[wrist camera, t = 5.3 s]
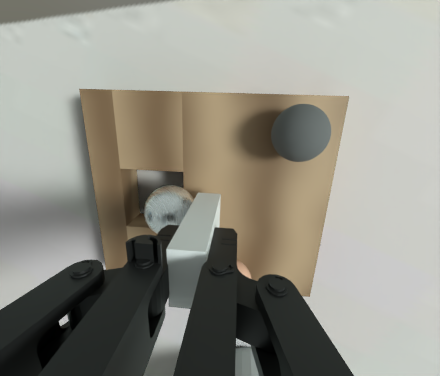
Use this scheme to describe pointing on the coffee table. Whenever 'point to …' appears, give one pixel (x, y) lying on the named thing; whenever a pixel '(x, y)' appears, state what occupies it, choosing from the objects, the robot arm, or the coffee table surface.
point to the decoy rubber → (301, 132)
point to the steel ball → (166, 207)
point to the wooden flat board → (214, 170)
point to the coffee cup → (245, 362)
